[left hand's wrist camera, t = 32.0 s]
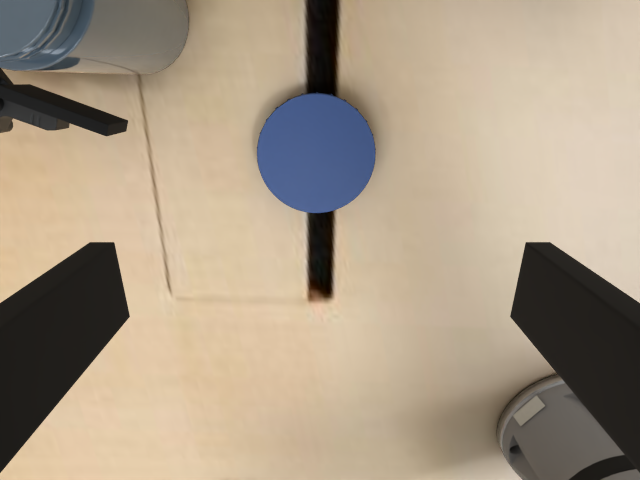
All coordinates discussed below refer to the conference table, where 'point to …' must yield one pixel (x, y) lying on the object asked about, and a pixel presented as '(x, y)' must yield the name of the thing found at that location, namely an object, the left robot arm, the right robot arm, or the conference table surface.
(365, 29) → the conference table surface
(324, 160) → the lid
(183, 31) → the jar
